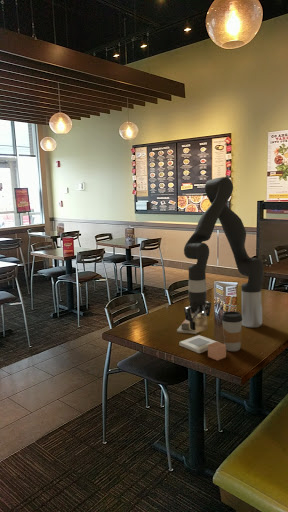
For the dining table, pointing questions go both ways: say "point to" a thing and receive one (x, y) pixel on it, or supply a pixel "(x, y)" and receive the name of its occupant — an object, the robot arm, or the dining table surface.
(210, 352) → the terracotta block
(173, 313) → the dining table surface
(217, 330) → the dining table surface
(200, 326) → the maple block
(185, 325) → the packaged product
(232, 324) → the coffee cup
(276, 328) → the dining table surface
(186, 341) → the plate
